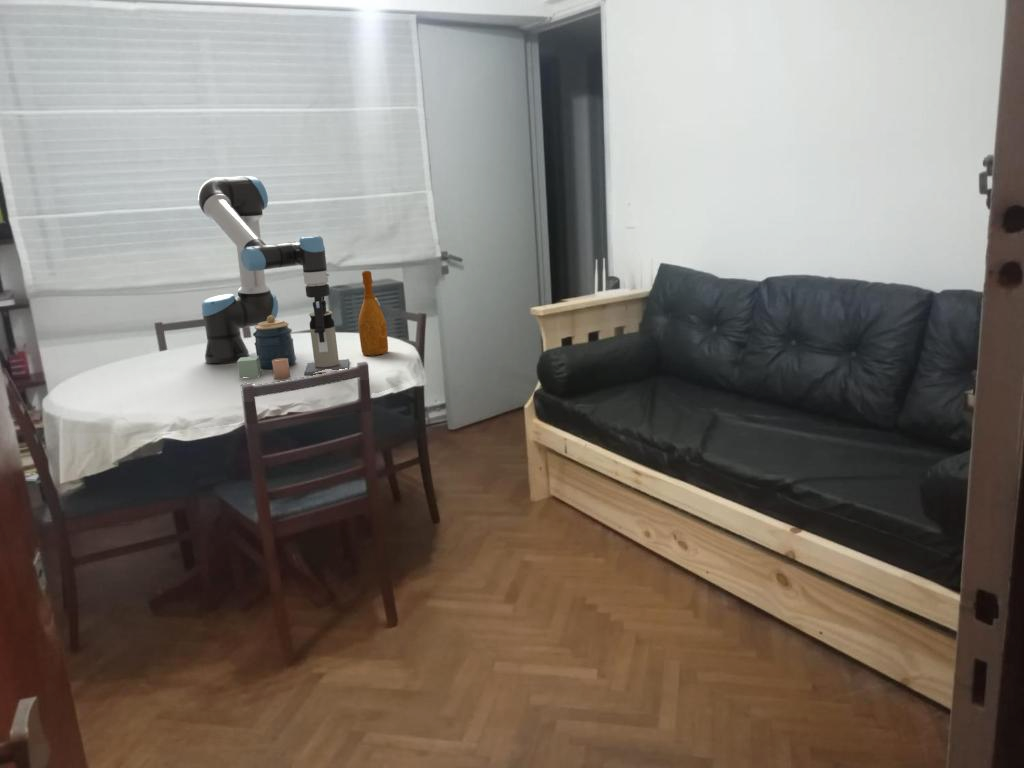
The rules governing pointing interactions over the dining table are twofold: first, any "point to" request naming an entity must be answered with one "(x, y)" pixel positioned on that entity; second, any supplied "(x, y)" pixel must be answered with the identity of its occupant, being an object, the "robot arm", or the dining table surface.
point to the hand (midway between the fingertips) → (325, 347)
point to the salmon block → (281, 368)
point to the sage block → (249, 366)
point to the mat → (312, 368)
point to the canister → (273, 342)
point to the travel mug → (331, 356)
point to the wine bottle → (371, 322)
